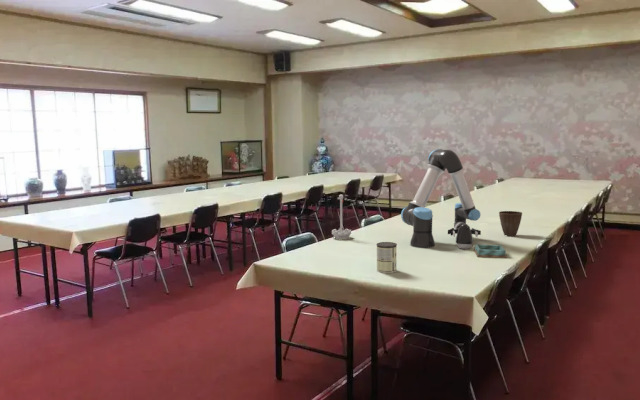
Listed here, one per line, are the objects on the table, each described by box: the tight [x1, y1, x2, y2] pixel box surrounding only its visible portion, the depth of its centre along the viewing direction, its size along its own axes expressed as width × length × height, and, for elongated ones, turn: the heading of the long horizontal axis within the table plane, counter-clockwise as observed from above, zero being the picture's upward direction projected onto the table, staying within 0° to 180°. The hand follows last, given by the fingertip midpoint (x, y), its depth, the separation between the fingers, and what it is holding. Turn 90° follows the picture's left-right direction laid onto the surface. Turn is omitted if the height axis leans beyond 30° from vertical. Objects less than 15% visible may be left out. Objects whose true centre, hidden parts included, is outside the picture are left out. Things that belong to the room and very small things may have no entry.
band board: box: [473, 244, 508, 259], centre depth 310 cm, size 16×16×4 cm
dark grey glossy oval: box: [455, 223, 474, 250], centre depth 326 cm, size 10×10×15 cm
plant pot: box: [498, 210, 523, 237], centre depth 365 cm, size 15×15×16 cm
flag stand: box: [331, 194, 352, 240], centre depth 362 cm, size 13×13×30 cm
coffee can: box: [376, 241, 398, 274], centre depth 275 cm, size 10×10×14 cm
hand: (465, 234), depth 329 cm, fingers open, 13 cm apart
